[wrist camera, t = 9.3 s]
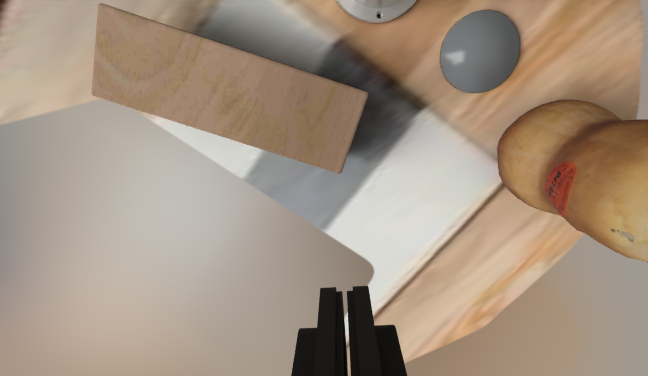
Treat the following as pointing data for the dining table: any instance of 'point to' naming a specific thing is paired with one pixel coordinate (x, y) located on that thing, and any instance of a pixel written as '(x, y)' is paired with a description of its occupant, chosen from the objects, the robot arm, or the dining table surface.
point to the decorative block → (224, 90)
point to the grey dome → (480, 51)
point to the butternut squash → (582, 170)
